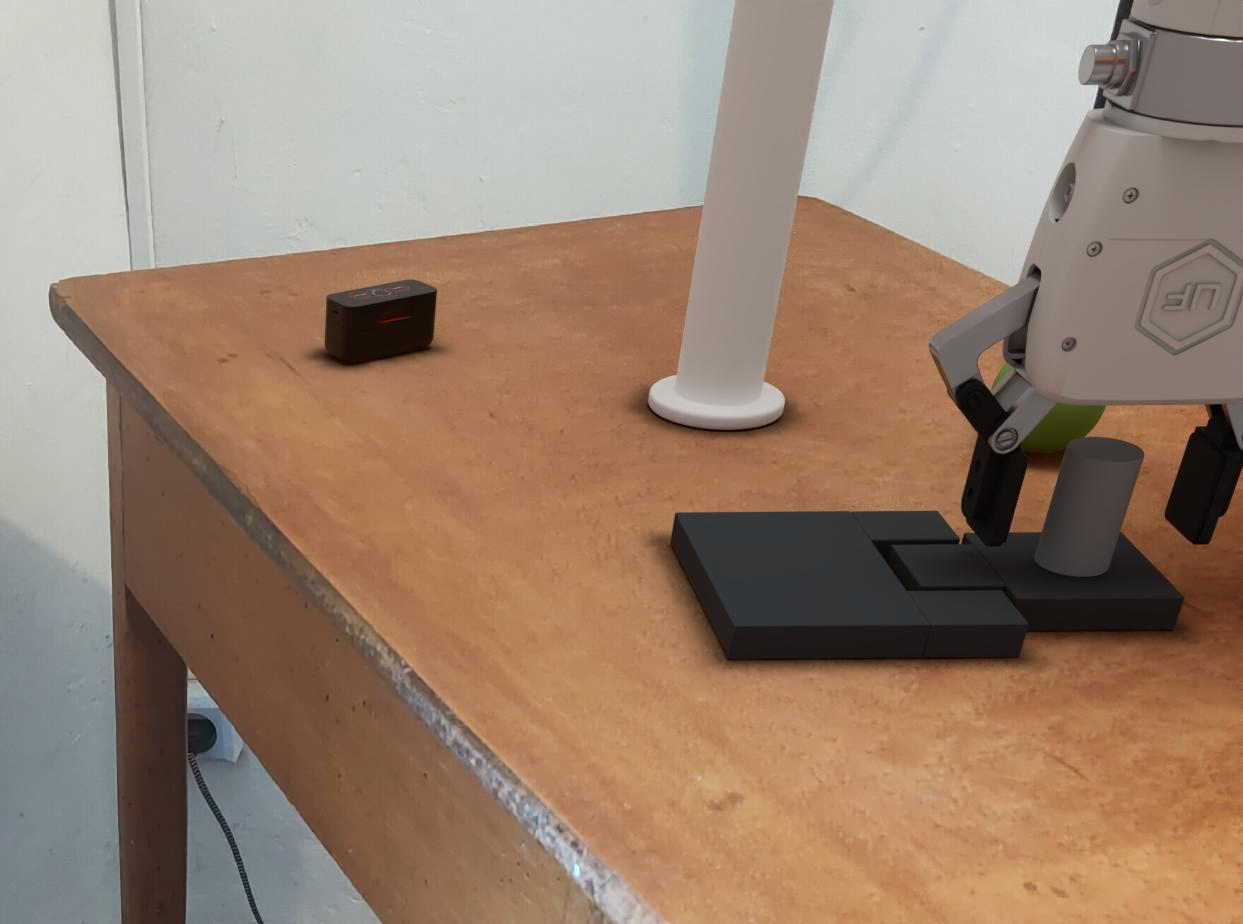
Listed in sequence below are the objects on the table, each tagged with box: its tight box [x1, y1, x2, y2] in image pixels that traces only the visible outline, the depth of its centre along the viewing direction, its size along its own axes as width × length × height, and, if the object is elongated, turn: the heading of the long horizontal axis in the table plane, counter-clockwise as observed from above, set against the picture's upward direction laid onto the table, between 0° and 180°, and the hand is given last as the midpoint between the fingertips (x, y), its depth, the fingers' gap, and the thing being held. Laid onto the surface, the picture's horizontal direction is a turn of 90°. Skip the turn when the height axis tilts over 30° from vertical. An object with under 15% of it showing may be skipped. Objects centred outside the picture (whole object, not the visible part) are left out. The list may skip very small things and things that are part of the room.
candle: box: [647, 0, 835, 431], centre depth 93 cm, size 7×7×25 cm
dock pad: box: [669, 510, 1029, 660], centre depth 82 cm, size 12×12×2 cm
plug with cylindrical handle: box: [887, 436, 1185, 632], centre depth 80 cm, size 11×7×6 cm, turn 89°
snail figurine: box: [990, 361, 1107, 454], centre depth 92 cm, size 5×6×12 cm
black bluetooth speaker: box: [324, 279, 438, 364], centre depth 109 cm, size 5×7×3 cm, turn 119°
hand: (1085, 531), depth 81 cm, fingers open, 8 cm apart
